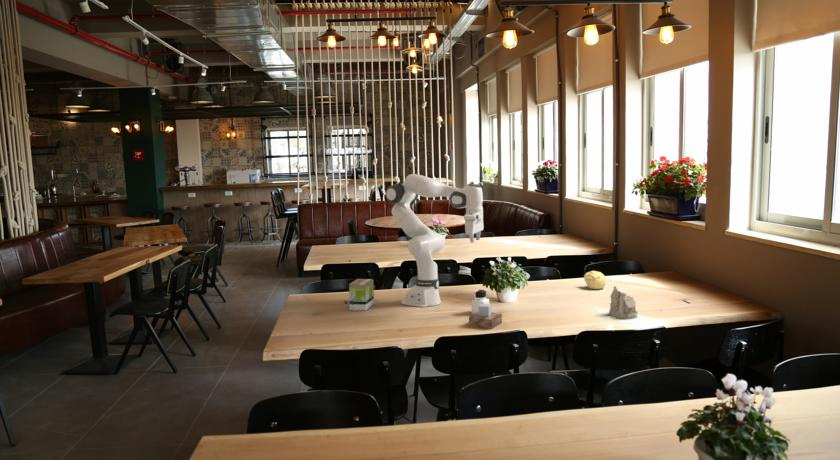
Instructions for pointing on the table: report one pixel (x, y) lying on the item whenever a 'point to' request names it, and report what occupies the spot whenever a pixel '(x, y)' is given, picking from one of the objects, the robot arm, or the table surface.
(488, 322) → the walnut block
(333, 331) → the table surface
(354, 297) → the tea box
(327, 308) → the table surface
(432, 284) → the robot arm
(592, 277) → the pale yellow lumpy ball
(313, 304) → the table surface
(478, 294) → the medicine bottle
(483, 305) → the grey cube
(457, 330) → the table surface
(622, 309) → the grey rock
